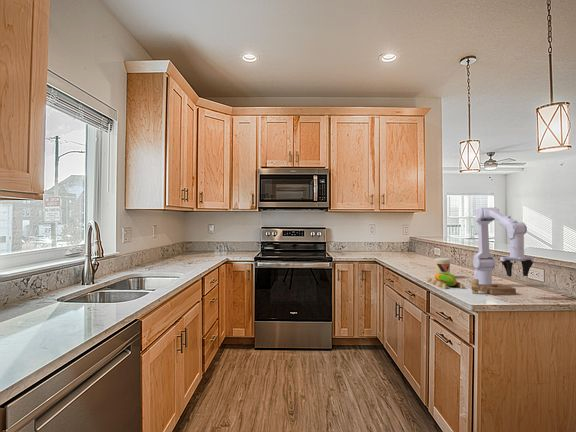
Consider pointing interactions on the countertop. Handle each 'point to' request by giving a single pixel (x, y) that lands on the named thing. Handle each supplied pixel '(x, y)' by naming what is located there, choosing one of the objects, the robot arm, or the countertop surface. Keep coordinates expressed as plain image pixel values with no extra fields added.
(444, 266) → the coffee cup
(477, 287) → the peg
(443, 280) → the green orange papaya
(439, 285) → the chock rails
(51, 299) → the countertop surface
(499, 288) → the walnut block
